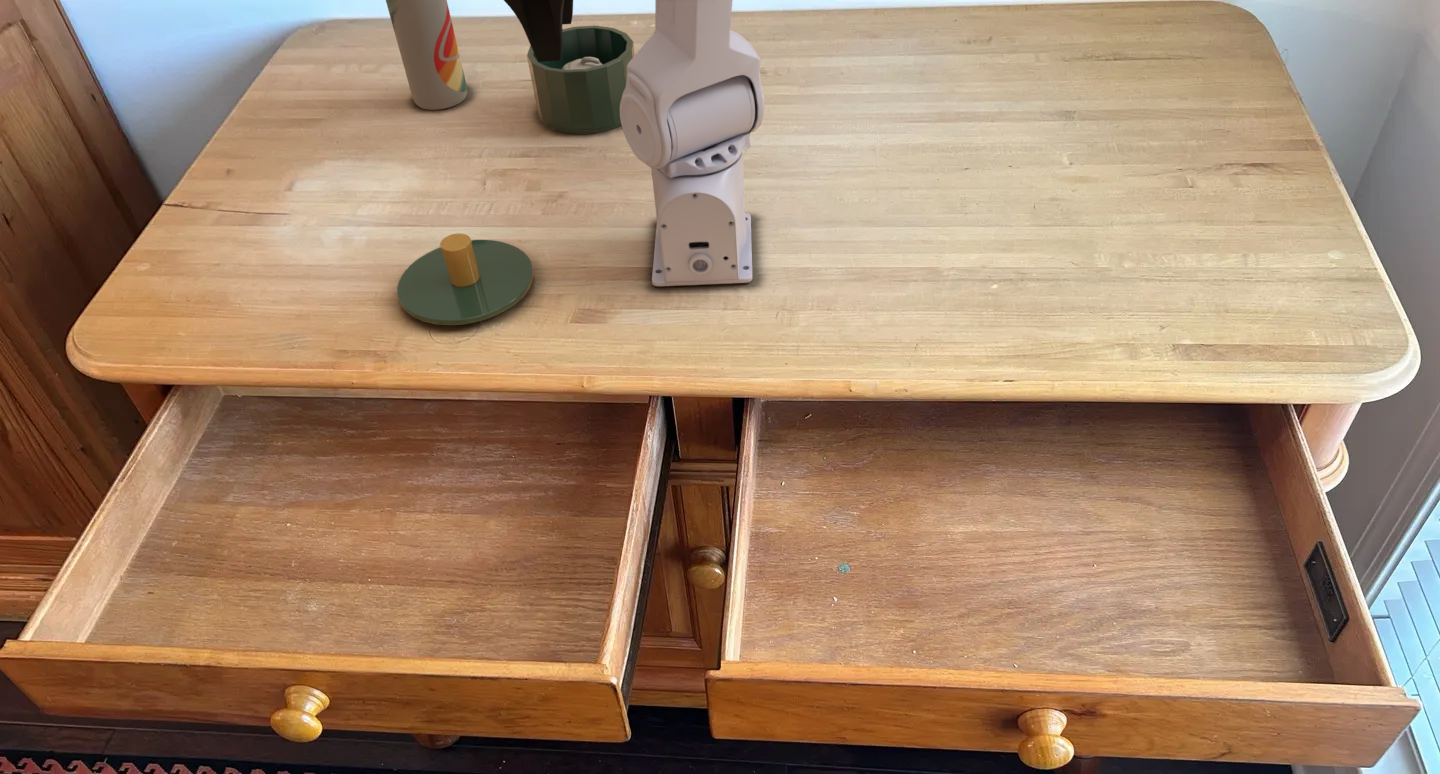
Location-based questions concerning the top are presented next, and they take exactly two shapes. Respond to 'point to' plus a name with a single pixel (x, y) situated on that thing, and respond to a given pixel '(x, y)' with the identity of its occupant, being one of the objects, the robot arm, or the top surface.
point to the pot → (583, 81)
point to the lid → (465, 281)
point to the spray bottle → (429, 52)
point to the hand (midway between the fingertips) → (555, 40)
